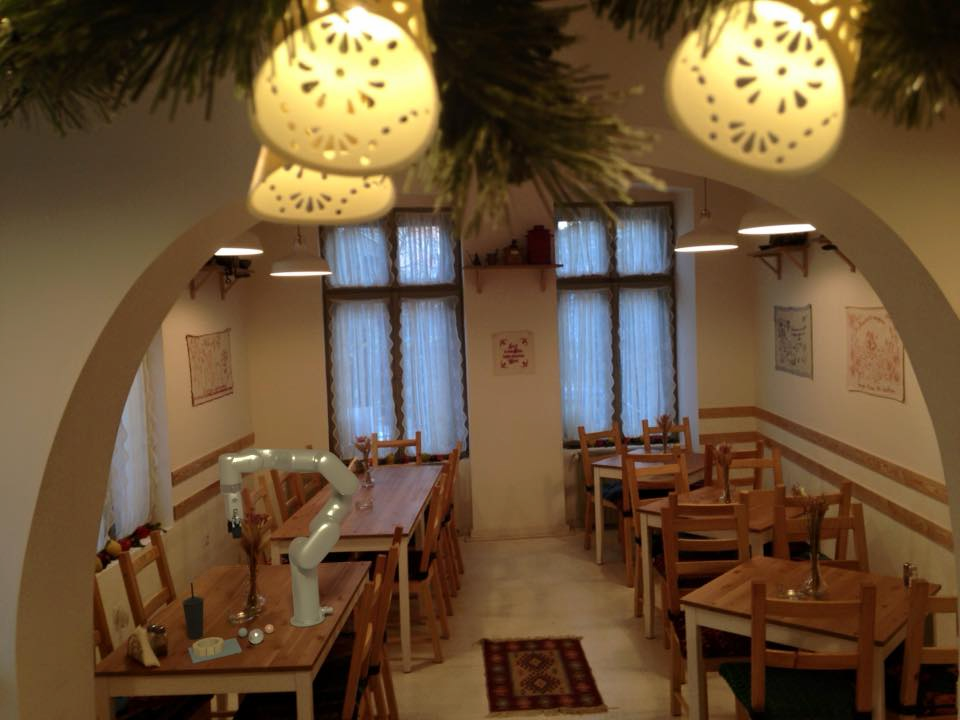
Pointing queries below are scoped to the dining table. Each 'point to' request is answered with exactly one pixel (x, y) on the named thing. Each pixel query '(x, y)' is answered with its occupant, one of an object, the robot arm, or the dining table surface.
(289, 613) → the dining table surface
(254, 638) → the steel ball
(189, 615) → the drinking cup
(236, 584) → the dining table surface
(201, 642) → the bearing housing
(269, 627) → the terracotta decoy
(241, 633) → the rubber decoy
